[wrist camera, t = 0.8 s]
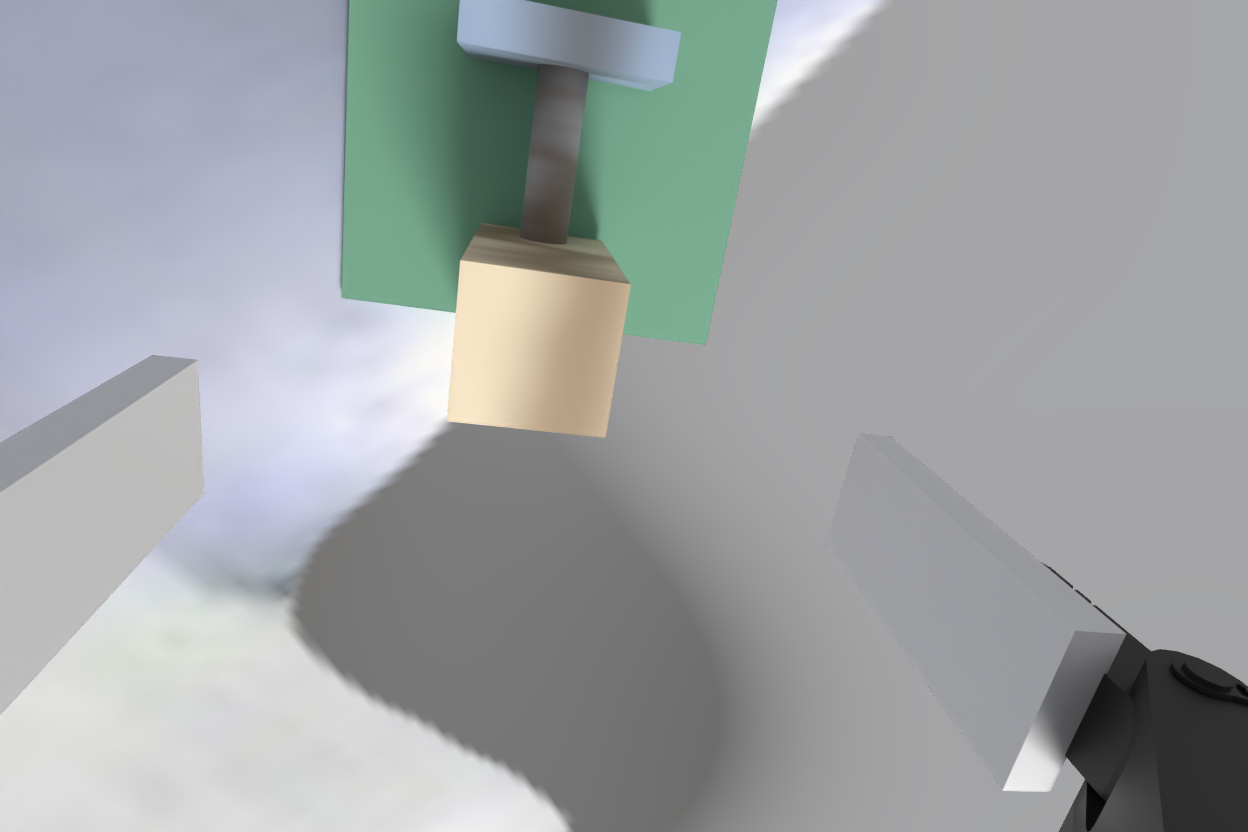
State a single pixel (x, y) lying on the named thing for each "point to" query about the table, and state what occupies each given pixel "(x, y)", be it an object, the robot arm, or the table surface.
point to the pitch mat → (499, 150)
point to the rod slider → (547, 231)
